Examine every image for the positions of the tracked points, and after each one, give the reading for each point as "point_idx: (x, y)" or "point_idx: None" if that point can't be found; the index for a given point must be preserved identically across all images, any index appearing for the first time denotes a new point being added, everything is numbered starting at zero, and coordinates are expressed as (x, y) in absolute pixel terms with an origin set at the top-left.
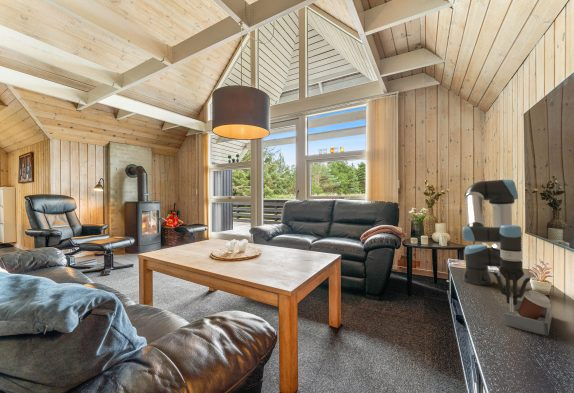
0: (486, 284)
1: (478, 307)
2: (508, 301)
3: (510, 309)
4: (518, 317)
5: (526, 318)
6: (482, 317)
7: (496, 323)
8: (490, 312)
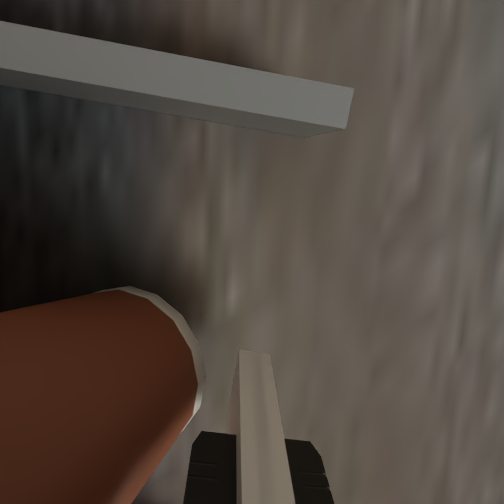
0: None
1: (493, 425)
2: (300, 466)
3: (266, 370)
4: (180, 59)
5: (72, 39)
6: (492, 196)
7: (384, 108)
8: (410, 366)
